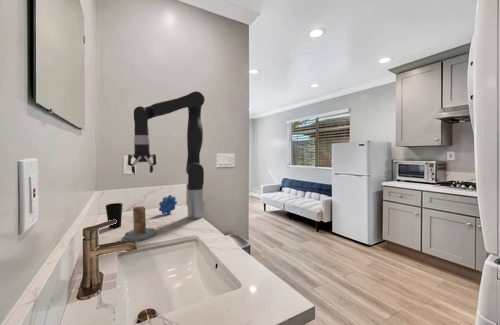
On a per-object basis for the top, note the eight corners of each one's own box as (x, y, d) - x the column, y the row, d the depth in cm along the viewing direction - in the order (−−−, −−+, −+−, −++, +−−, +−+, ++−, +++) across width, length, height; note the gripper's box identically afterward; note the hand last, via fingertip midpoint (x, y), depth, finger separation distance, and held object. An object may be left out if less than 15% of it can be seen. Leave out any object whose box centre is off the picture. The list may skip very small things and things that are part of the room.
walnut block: (144, 230, 110) (143, 206, 110) (145, 232, 107) (145, 208, 106) (133, 232, 108) (133, 207, 107) (135, 235, 104) (134, 209, 104)
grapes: (174, 210, 151) (174, 193, 151) (178, 213, 146) (178, 194, 145) (156, 214, 144) (156, 195, 143) (160, 216, 138) (160, 197, 138)
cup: (115, 230, 115) (114, 206, 114) (102, 229, 116) (101, 206, 116) (126, 225, 122) (125, 203, 122) (114, 224, 124) (113, 202, 123)
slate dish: (151, 228, 116) (151, 226, 116) (157, 236, 106) (157, 233, 106) (123, 234, 109) (123, 231, 109) (126, 243, 98) (126, 240, 98)
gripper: (128, 143, 117) (129, 174, 118) (157, 143, 125) (157, 172, 126) (126, 143, 123) (127, 173, 124) (154, 144, 131) (154, 171, 132)
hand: (142, 173), depth 125 cm, fingers open, 8 cm apart
